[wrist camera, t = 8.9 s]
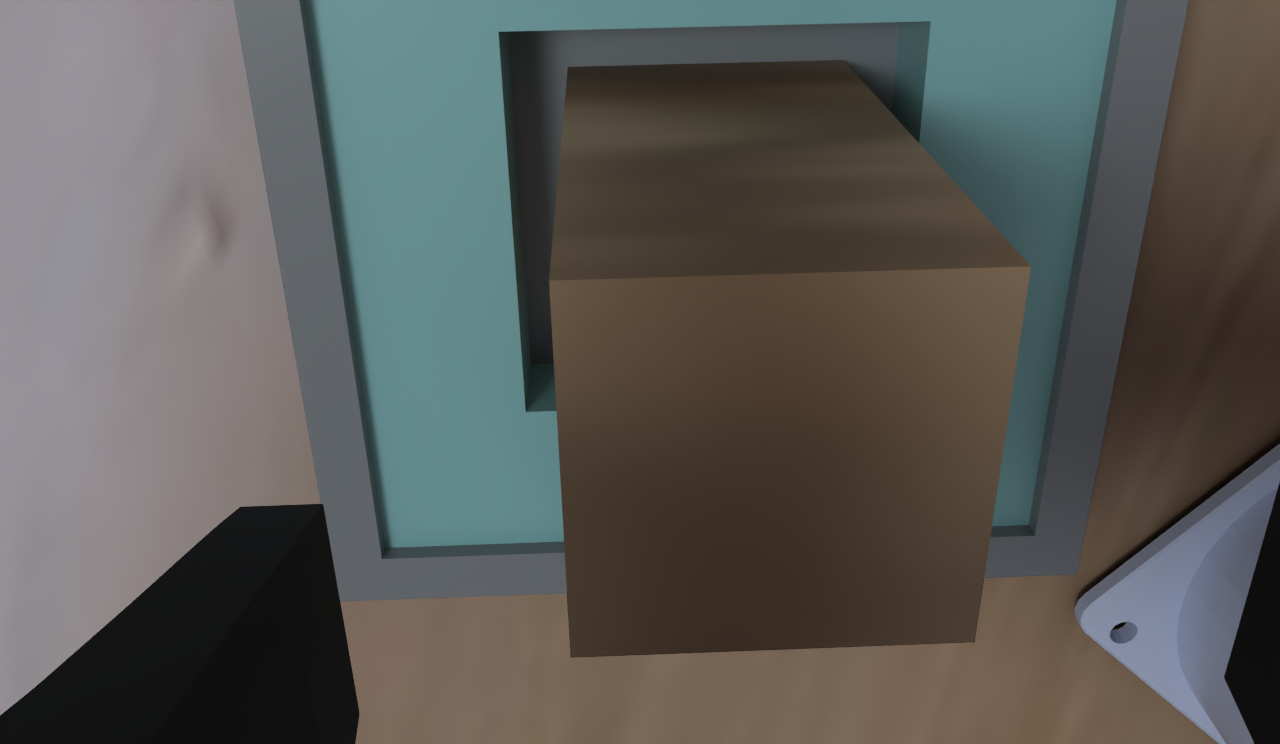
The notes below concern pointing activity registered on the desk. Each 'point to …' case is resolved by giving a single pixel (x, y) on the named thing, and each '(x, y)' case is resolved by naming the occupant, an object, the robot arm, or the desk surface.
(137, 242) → the desk surface
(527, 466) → the socket box
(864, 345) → the peg
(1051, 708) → the desk surface
